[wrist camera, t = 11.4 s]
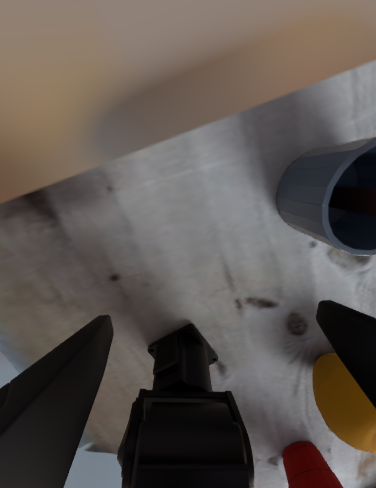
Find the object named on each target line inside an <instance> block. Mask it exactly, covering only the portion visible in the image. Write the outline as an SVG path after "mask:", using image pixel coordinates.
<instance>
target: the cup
mask: <svg viewBox="0 0 376 488" xmlns="http://www.w3.org/2000/svg"><path fill="white" fill-rule="evenodd" d="M335 185H349V186H366V187H376V137H371V138H366V139H361V140H356V141H351V142H346V143H341V144H336V145H331V146H326V147H322V148H318V149H314V150H311V151H308V152H306V153H304V154H303V155H301V156H300V157H298V158H297V159H296V160H295V161H293V162H292V163H291V165H290V166H289V167H288V168H287V169H286V171H285V172H284V174H283V176H282V177H281V180H280V182H279V185H278V189H277V196H276V201H277V208H278V211H279V214H280V215H281V217H282V219H283V220H284V221H285V222H286V223H287V224H288V225H289V226H291V227H292V228H294V229H296V230H298V231H300V232H302V233H304V234H307V235H309V236H311V237H313V238H315V239H317V240H319V241H322V242H324V243H326V244H328V245H330V246H332V247H334V248H337V249H339V250H341V251H343V252H346V253H348V254H351V255H361V256H370V255H375V254H376V217H374V216H369V215H365V214H360V213H355V212H350V211H346V210H341V209H336V208H331V207H328V204H329V201H330V198H331V194H332V191H333V188H334V186H335Z"/></svg>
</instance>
